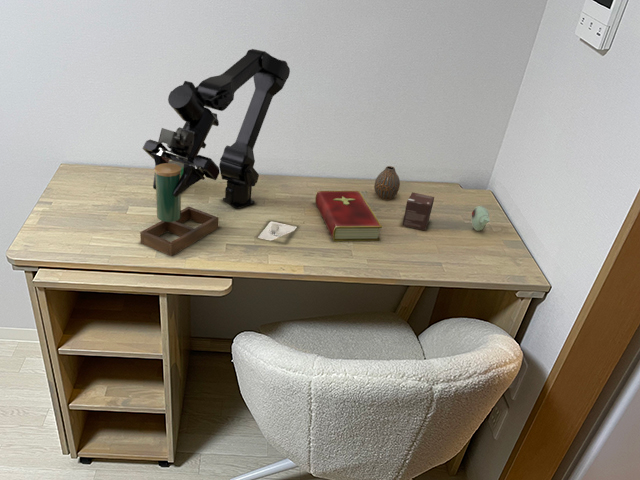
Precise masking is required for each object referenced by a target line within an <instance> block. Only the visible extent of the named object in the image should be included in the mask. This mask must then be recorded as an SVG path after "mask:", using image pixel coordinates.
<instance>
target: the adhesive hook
mask: <svg viewBox="0 0 640 480" xmlns="http://www.w3.org/2000/svg"><path fill="white" fill-rule="evenodd" d="M279 223H280V222H277V221H272V223H271V226H270V228H269V229H268V233H269V234H271V235H274V236H278V235H279V234H280V233H281V231H280V227H281V226H282V225H281V224H279Z"/></svg>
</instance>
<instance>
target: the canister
mask: <svg viewBox="0 0 640 480" xmlns="http://www.w3.org/2000/svg"><path fill="white" fill-rule="evenodd" d="M154 175H155V177H156V190H155V200H156V205H155V206H156V219H158V220H159V221H164V222H174V221H177V220H179V219H180V218H181V210H182V193H181V194H180V195H178V196H177V197H175V196H174V195H173V193H174V190H175V188H176V186H177V184H178V182H179V180H180V178H181V167H180V166H179V165H176V164H172V163H163V164H159V165H157V166H156V167H155V166H154Z"/></svg>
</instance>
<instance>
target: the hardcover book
mask: <svg viewBox="0 0 640 480" xmlns="http://www.w3.org/2000/svg"><path fill="white" fill-rule="evenodd" d="M314 199H315V201H314V202H315V205H316V207H317V209H318V211H319V213H320V215H321V217H322V219H323V222H324V224H325V225H326V227H327V229H328V232H329V234H330V236H331V239H332V240H333V242H379V241H380V237H379V233H380V229H382V228H383V225H382V224H381V222H380V220H379V219H378V217H377V216H376V215H375V213H374V212H373V210H372V208H371V207H370V205H369V203H368V202H367V201H366V198H365V197H364V196H363V194H362V192H361V191H360V190H317V191H316V193H315V198H314Z"/></svg>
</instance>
